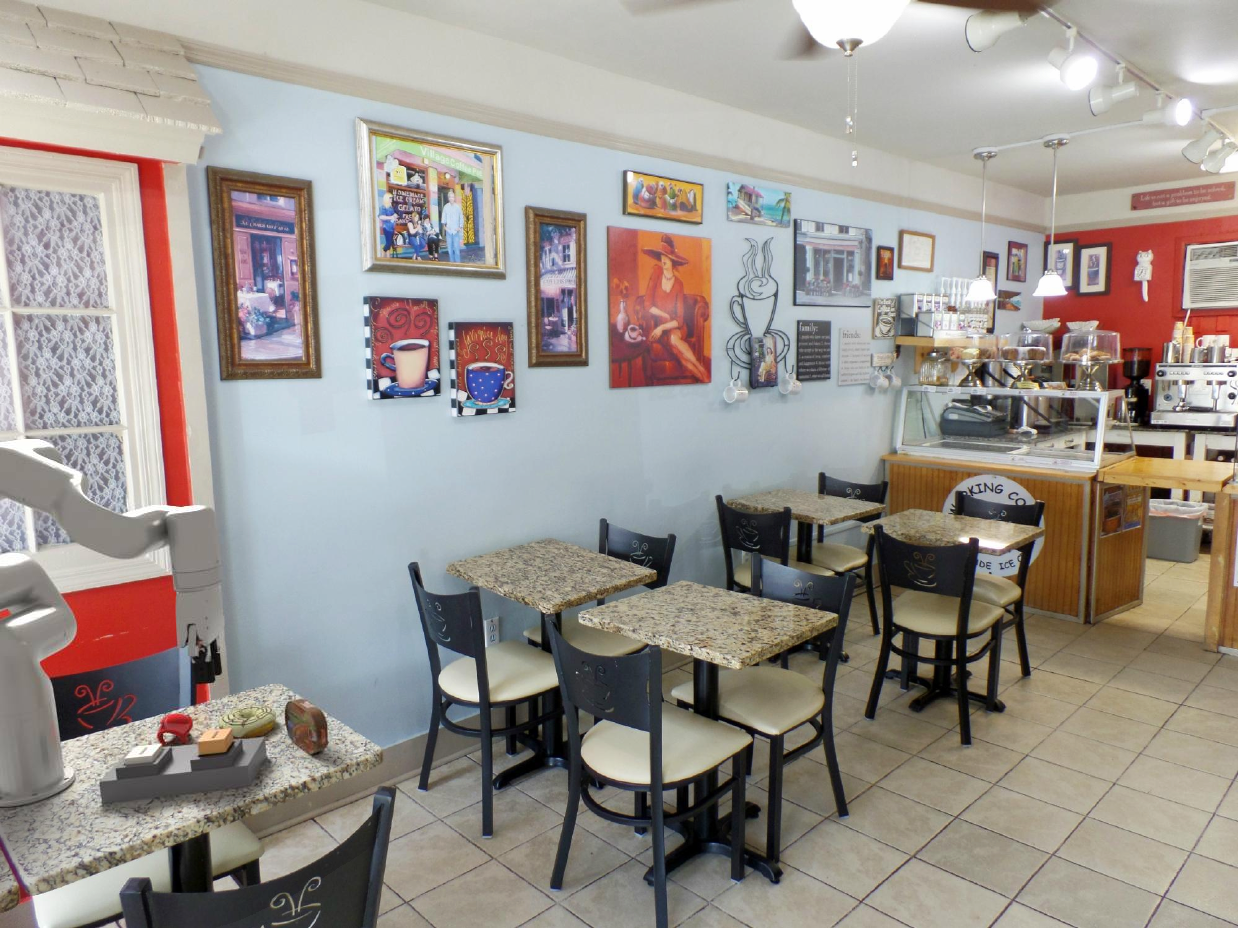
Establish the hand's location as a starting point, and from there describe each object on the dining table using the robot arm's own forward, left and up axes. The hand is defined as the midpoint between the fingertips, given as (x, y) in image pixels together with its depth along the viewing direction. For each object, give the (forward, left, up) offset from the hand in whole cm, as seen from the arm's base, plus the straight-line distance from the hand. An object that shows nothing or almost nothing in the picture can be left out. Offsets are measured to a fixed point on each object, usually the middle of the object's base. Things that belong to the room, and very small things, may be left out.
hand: (208, 678), depth 141 cm
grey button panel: (-6, +2, -19) cm, 20 cm away
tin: (+13, +11, -19) cm, 26 cm away
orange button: (0, 0, -13) cm, 13 cm away
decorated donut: (-1, +21, -20) cm, 29 cm away
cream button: (-12, 0, -14) cm, 19 cm away
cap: (-14, +19, -19) cm, 31 cm away
